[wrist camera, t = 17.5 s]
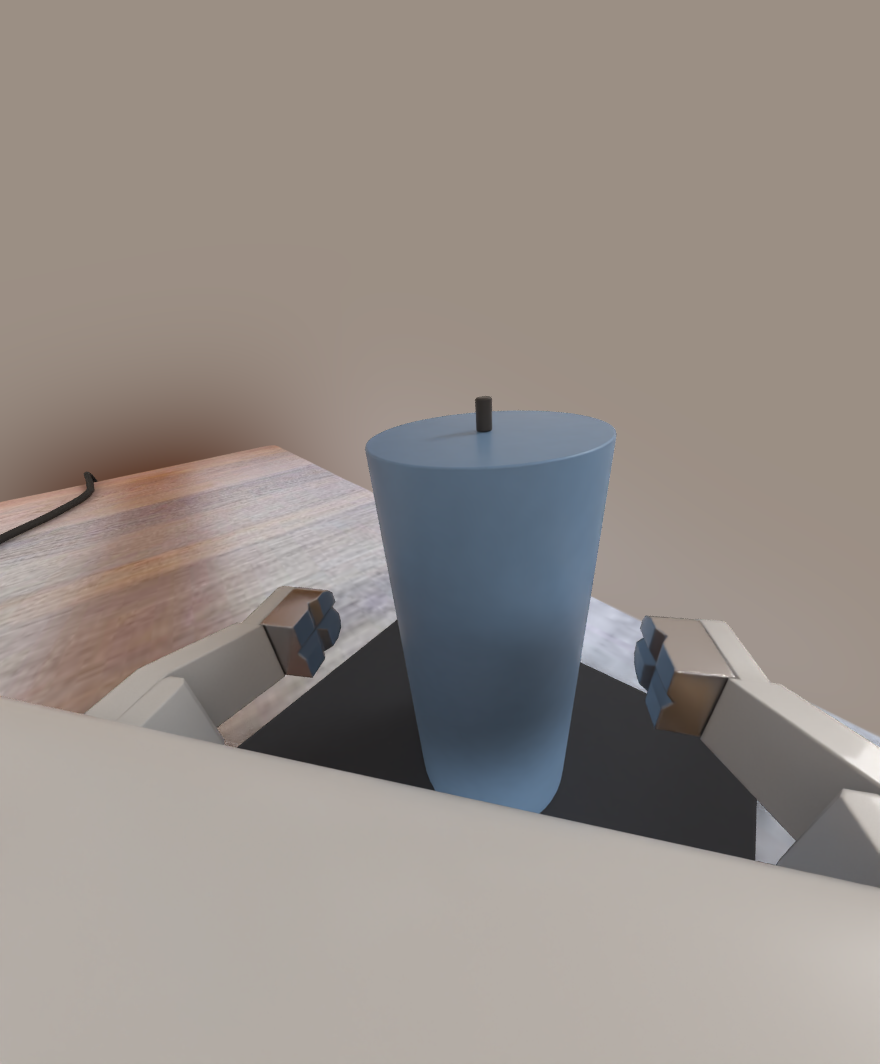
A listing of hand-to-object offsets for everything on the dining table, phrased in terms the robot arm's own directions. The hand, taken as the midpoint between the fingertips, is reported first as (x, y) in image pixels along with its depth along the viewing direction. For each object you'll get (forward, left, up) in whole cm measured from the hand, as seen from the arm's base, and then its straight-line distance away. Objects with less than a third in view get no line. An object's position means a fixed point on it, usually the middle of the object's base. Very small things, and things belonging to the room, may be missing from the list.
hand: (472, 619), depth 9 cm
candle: (-1, +2, -9) cm, 9 cm away
